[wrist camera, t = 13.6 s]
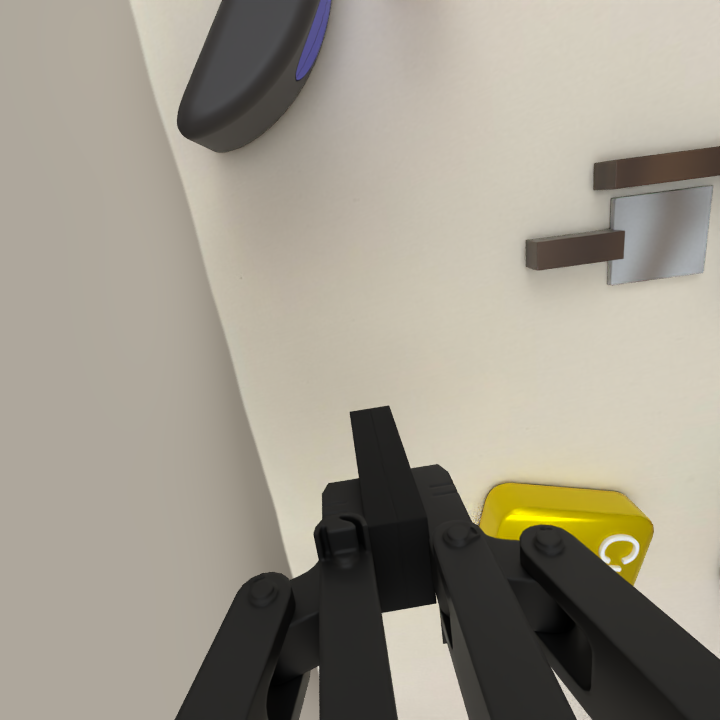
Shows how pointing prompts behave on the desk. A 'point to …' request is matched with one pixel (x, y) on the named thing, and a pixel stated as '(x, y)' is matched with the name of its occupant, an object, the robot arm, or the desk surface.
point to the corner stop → (657, 168)
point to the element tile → (573, 520)
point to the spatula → (637, 238)
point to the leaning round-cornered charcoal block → (250, 69)
